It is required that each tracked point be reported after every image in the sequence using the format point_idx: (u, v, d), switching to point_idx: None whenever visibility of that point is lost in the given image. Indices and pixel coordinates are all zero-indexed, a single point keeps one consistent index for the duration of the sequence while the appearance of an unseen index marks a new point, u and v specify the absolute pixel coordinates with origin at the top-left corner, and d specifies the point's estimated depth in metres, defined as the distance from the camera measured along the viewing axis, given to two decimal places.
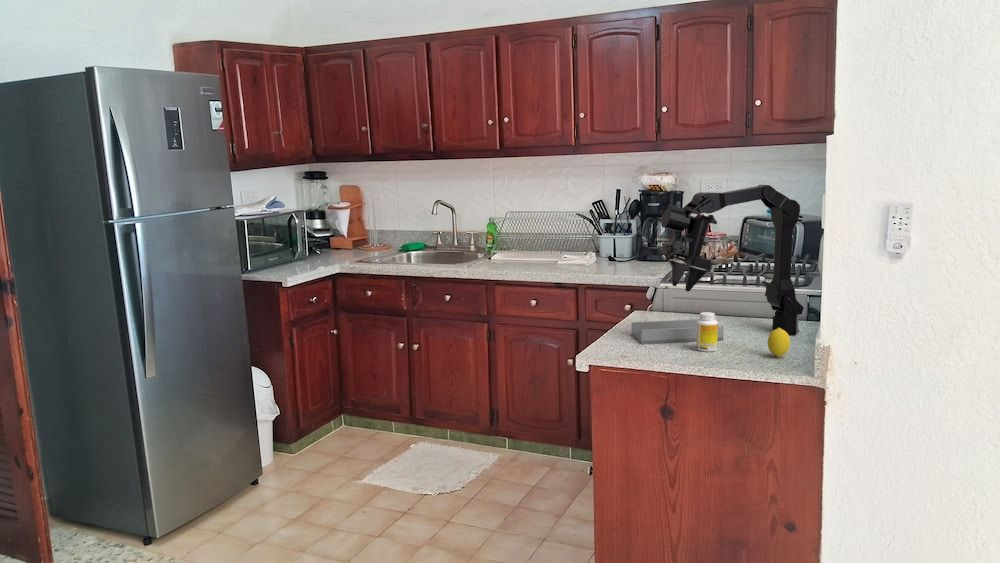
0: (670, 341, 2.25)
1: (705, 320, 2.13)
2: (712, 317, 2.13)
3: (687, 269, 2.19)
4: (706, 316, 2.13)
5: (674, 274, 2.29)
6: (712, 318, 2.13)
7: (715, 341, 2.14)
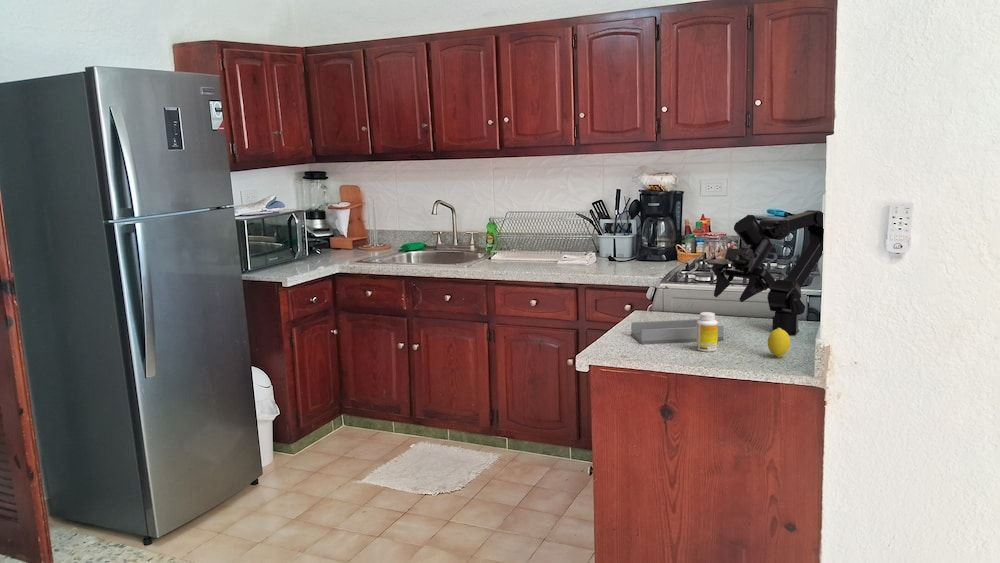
0: (670, 341, 2.25)
1: (705, 320, 2.13)
2: (712, 317, 2.13)
3: (750, 279, 2.14)
4: (706, 316, 2.13)
5: (719, 285, 2.23)
6: (712, 318, 2.13)
7: (715, 341, 2.14)
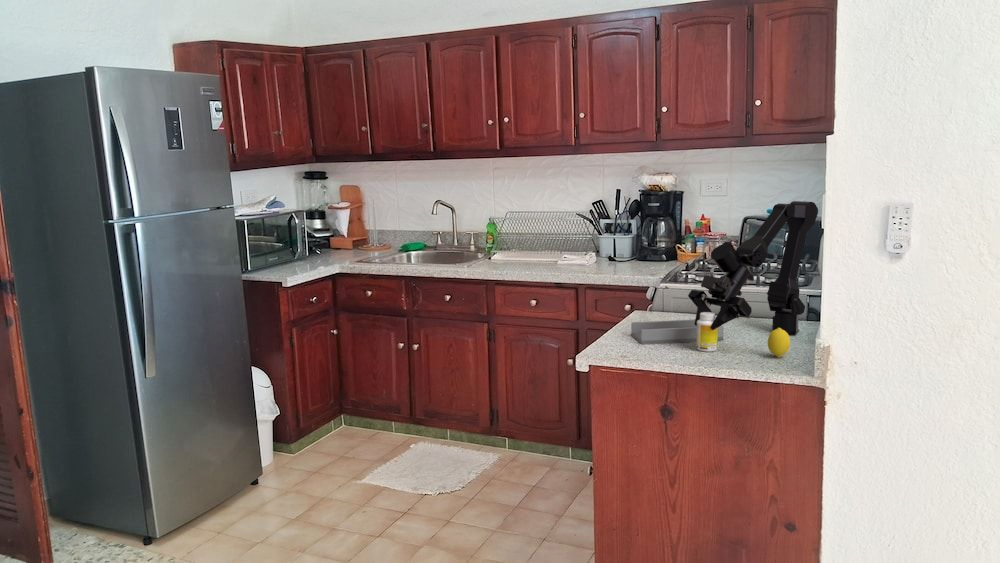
0: (670, 341, 2.25)
1: (705, 320, 2.13)
2: (712, 317, 2.13)
3: (722, 307, 2.12)
4: (706, 316, 2.13)
5: None
6: (712, 318, 2.13)
7: (715, 341, 2.14)
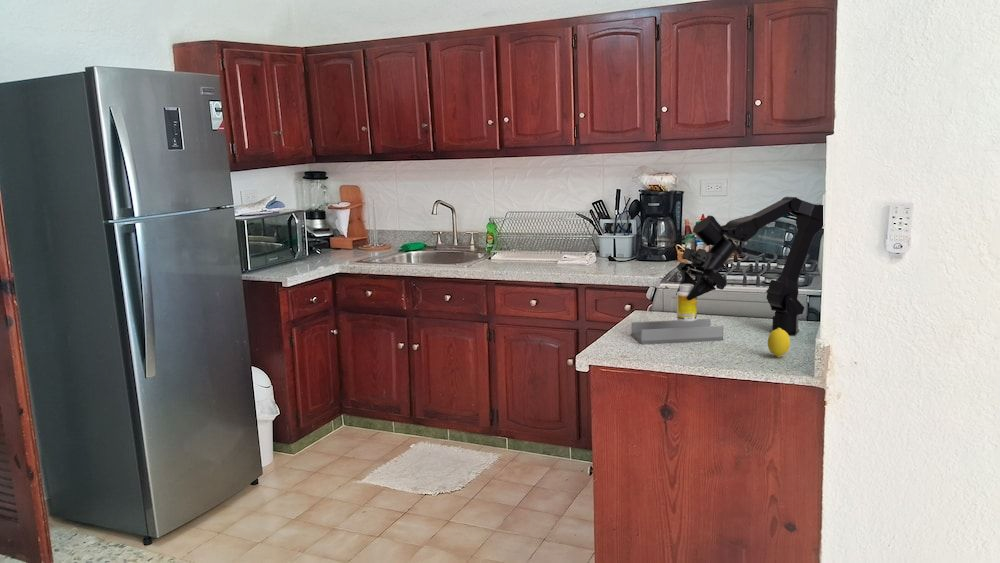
0: (670, 341, 2.25)
1: (683, 291, 2.21)
2: (689, 288, 2.20)
3: (698, 278, 2.18)
4: (683, 287, 2.20)
5: None
6: (689, 289, 2.20)
7: (692, 312, 2.21)
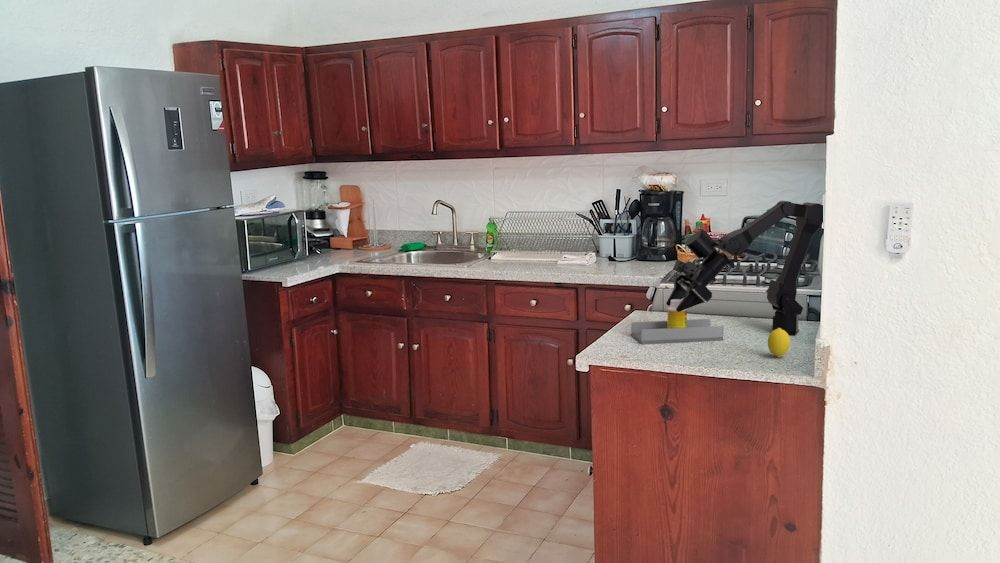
0: (670, 341, 2.25)
1: (672, 306, 2.28)
2: (678, 304, 2.27)
3: (687, 291, 2.23)
4: (673, 302, 2.28)
5: (673, 295, 2.34)
6: None
7: (681, 326, 2.28)
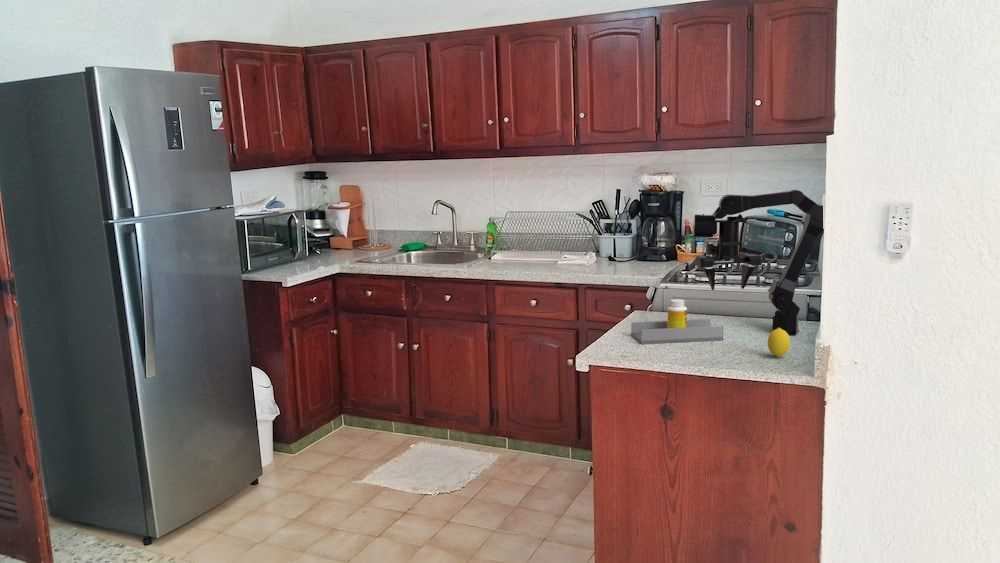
0: (670, 341, 2.25)
1: (672, 306, 2.28)
2: (678, 304, 2.27)
3: None
4: (673, 302, 2.28)
5: (741, 277, 2.36)
6: (678, 305, 2.27)
7: (681, 326, 2.28)
